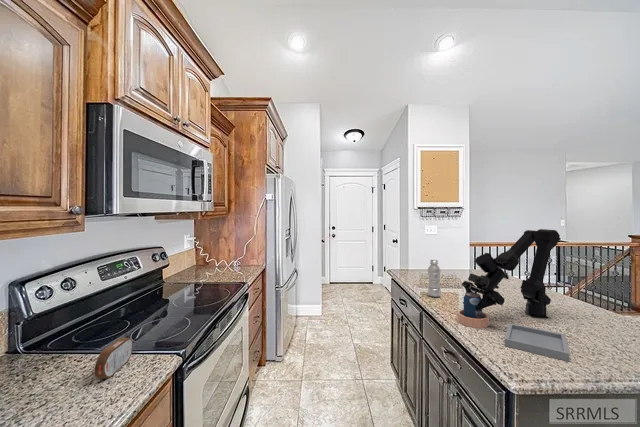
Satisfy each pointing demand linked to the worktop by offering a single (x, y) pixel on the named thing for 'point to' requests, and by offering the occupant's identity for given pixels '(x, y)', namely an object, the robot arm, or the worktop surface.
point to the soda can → (472, 305)
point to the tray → (537, 341)
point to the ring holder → (473, 320)
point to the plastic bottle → (434, 279)
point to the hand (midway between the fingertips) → (469, 307)
